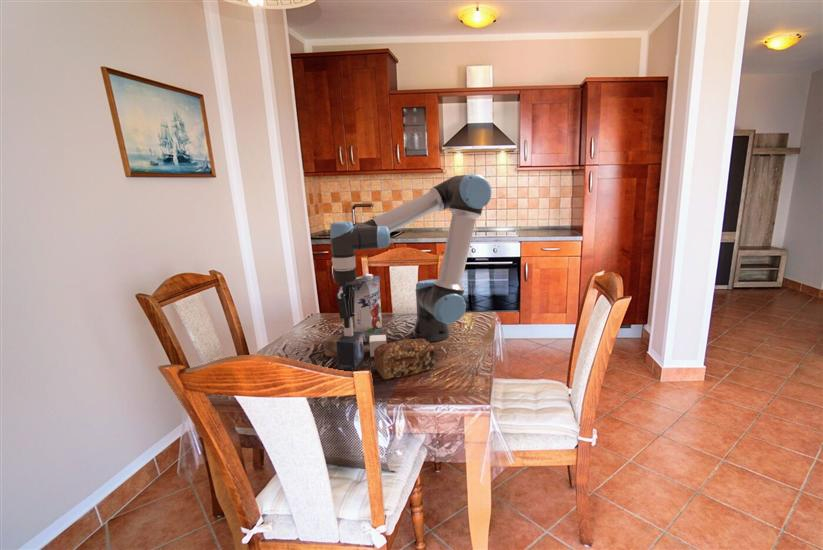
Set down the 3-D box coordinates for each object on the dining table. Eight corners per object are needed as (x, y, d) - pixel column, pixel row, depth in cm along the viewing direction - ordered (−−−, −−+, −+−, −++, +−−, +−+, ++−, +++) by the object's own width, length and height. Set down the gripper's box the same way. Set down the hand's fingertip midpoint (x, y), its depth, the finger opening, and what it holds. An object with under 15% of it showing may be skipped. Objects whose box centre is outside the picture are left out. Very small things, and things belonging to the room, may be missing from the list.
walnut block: (347, 351, 149) (346, 336, 148) (338, 357, 144) (337, 342, 143) (333, 349, 151) (332, 334, 150) (325, 355, 146) (323, 340, 145)
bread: (384, 382, 124) (382, 352, 122) (374, 368, 134) (372, 341, 132) (436, 370, 131) (436, 342, 129) (423, 358, 141) (422, 331, 139)
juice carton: (352, 340, 160) (347, 275, 154) (369, 332, 168) (365, 270, 162) (369, 344, 155) (364, 277, 149) (385, 335, 163) (382, 272, 157)
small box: (355, 371, 133) (353, 342, 130) (337, 370, 134) (334, 341, 132) (365, 358, 143) (363, 330, 140) (348, 357, 144) (346, 330, 142)
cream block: (386, 349, 149) (385, 334, 148) (386, 356, 144) (385, 340, 142) (370, 350, 149) (369, 335, 148) (370, 357, 143) (369, 341, 142)
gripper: (340, 264, 138) (345, 328, 143) (325, 272, 125) (331, 342, 130) (361, 265, 136) (365, 329, 141) (348, 273, 124) (352, 343, 129)
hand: (348, 335), depth 136 cm, fingers closed
